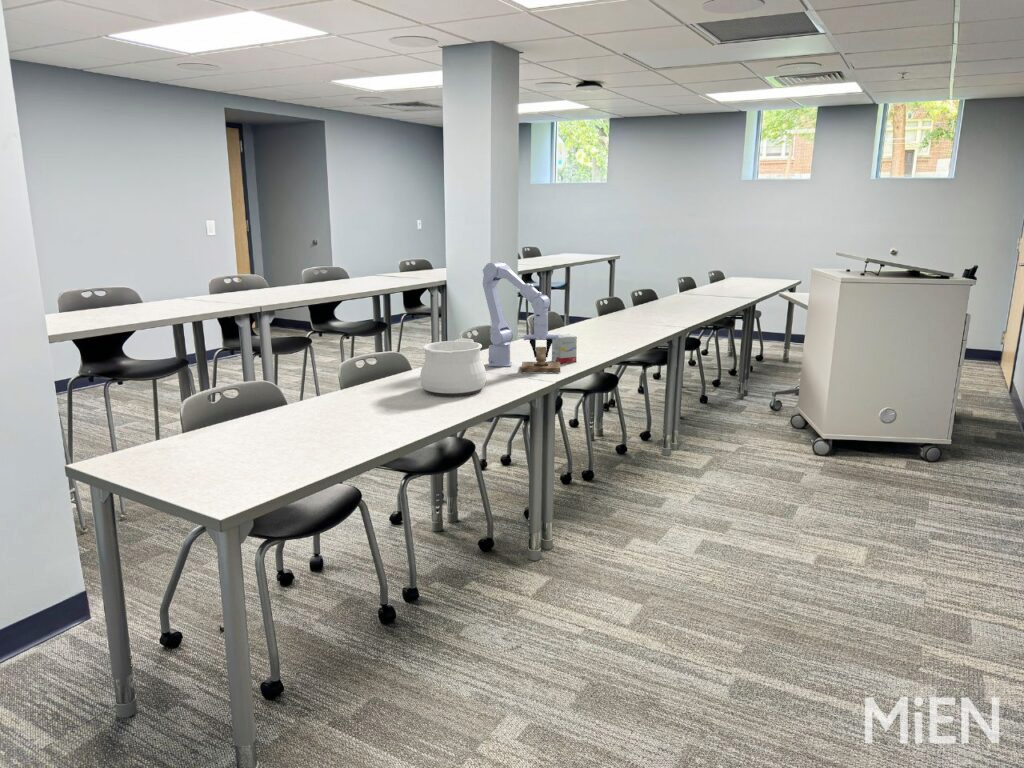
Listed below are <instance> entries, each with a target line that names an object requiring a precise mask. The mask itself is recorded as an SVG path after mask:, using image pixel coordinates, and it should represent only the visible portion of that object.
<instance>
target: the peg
mask: <svg viewBox="0 0 1024 768" xmlns="http://www.w3.org/2000/svg"><path fill="white" fill-rule="evenodd" d="M535 362H537V364H538V365H544V364H545V362H547V357H546V346H536V357H535Z"/></svg>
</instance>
